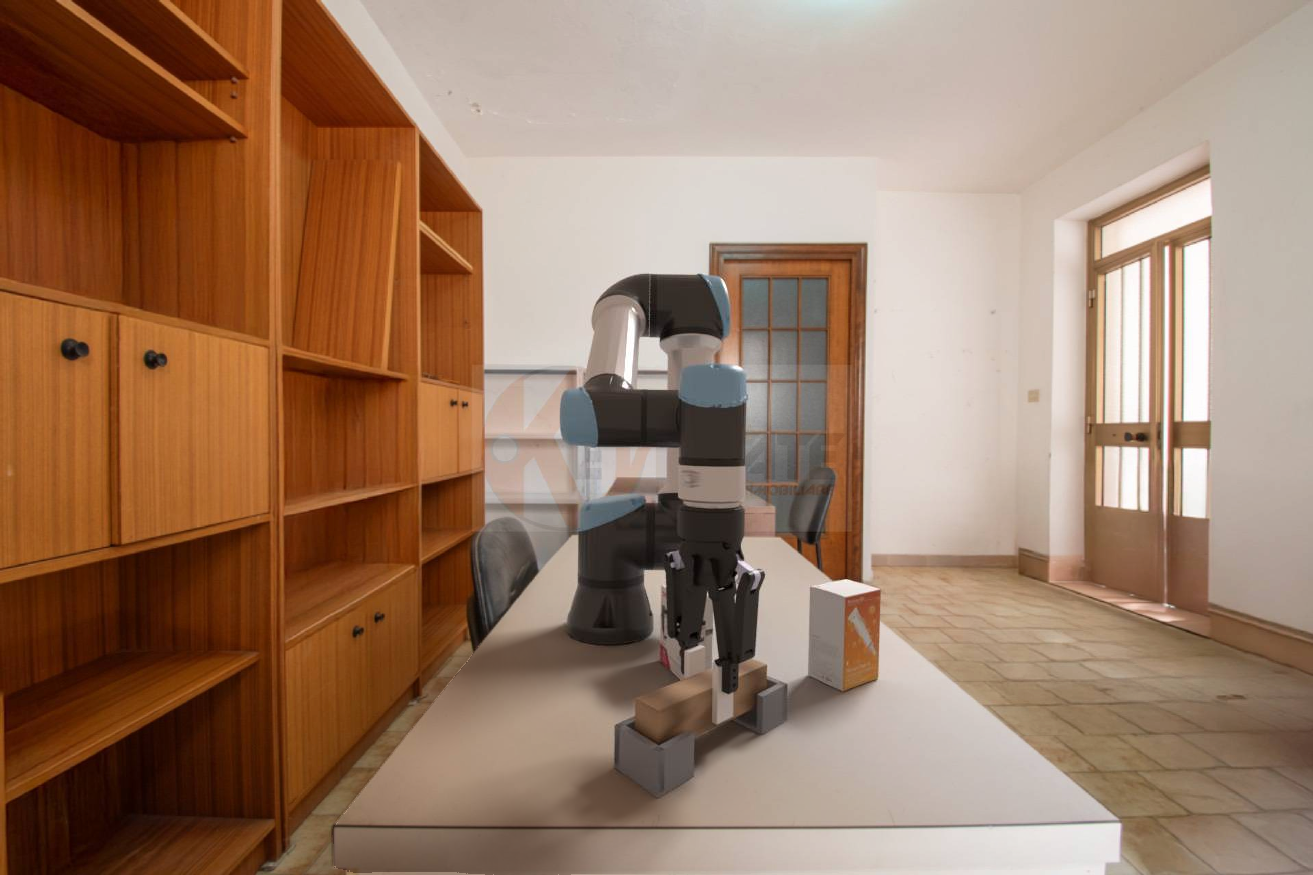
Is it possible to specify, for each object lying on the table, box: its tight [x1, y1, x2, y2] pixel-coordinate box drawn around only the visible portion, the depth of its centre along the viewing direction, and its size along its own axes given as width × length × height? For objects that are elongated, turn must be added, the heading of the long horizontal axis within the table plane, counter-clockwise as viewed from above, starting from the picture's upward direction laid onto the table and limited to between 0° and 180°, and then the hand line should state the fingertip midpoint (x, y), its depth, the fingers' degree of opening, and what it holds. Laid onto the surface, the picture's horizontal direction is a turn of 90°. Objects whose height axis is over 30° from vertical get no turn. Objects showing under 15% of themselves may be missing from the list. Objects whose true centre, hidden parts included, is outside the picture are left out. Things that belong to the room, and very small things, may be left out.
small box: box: [807, 578, 882, 692], centre depth 80 cm, size 8×6×13 cm
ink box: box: [659, 584, 714, 681], centre depth 82 cm, size 9×5×12 cm, turn 23°
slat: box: [634, 658, 768, 745], centre depth 62 cm, size 18×4×4 cm, turn 133°
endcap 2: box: [730, 675, 788, 736], centre depth 69 cm, size 7×5×4 cm
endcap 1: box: [613, 715, 695, 799], centre depth 57 cm, size 7×5×4 cm
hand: (708, 711), depth 63 cm, fingers closed on slat, 3 cm apart
